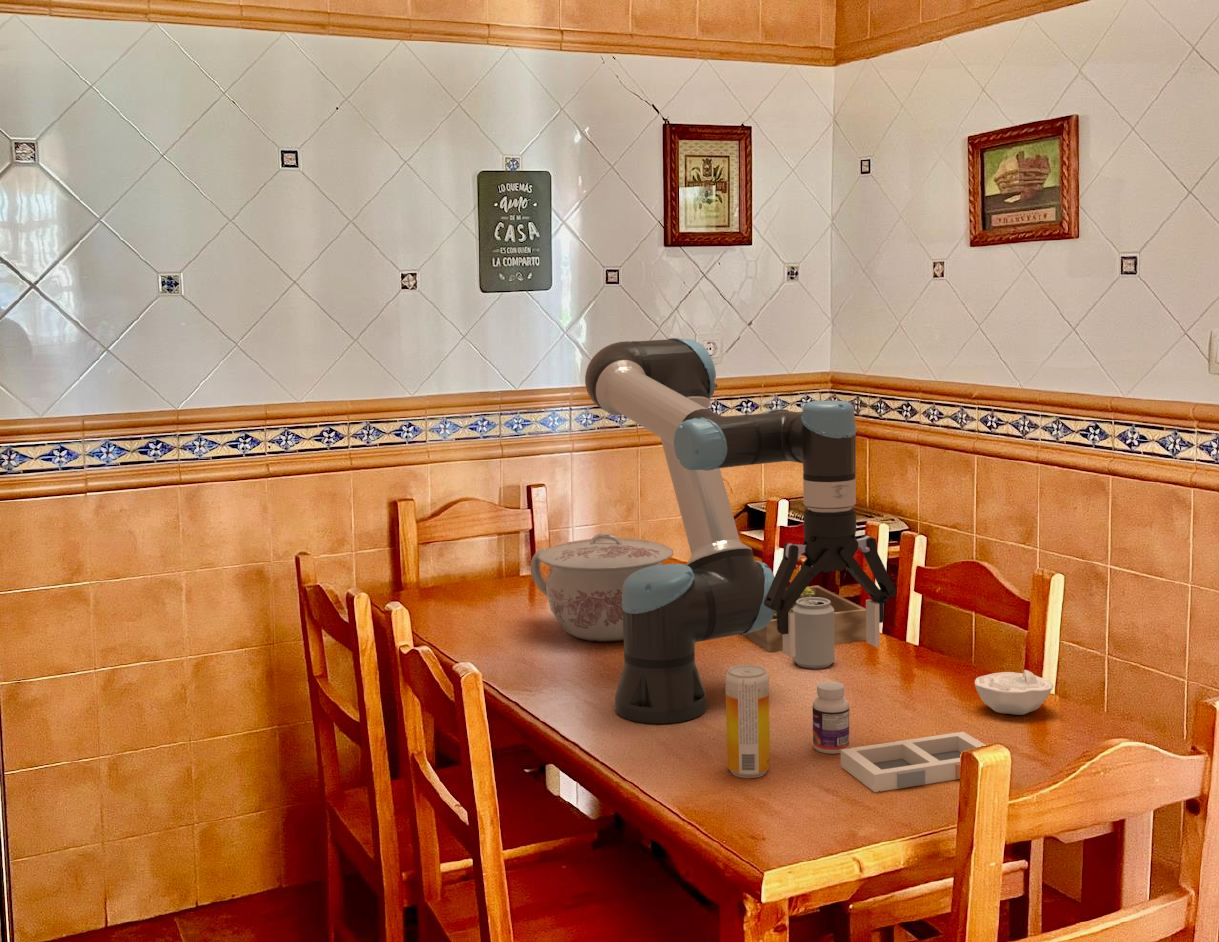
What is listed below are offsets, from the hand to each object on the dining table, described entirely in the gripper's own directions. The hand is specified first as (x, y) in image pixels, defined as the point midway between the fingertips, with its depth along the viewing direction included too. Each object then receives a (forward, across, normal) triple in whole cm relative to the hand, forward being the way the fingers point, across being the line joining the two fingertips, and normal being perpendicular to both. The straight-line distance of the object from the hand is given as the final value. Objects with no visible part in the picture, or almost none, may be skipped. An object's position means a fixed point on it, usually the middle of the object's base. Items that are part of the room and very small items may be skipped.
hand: (831, 649), depth 182 cm
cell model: (+16, +34, +4) cm, 38 cm away
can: (+15, +16, +39) cm, 45 cm away
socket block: (+15, +8, -12) cm, 21 cm away
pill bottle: (+15, 0, 0) cm, 15 cm away
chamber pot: (+15, -13, +74) cm, 77 cm away
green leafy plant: (+15, +23, +60) cm, 66 cm away
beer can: (+15, -15, -4) cm, 22 cm away
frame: (+15, +22, +60) cm, 66 cm away
